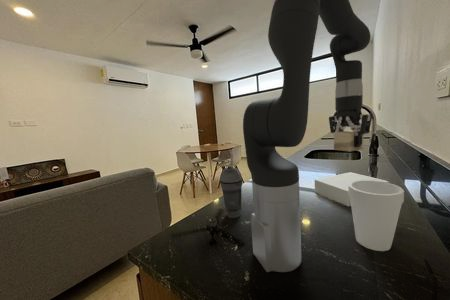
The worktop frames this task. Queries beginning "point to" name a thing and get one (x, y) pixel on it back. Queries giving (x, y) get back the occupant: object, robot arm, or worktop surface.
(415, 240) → the worktop surface
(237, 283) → the worktop surface
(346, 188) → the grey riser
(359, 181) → the foam cup
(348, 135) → the maple block
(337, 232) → the worktop surface
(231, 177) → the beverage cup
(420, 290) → the worktop surface
